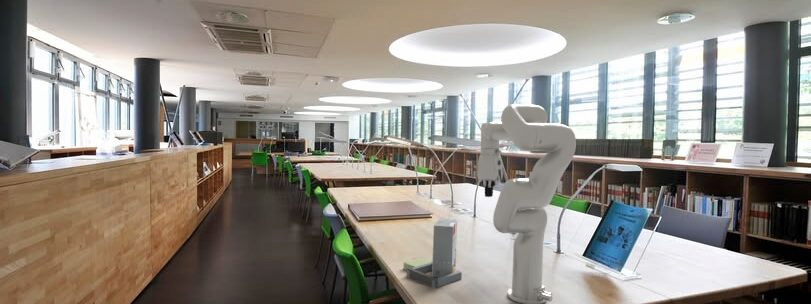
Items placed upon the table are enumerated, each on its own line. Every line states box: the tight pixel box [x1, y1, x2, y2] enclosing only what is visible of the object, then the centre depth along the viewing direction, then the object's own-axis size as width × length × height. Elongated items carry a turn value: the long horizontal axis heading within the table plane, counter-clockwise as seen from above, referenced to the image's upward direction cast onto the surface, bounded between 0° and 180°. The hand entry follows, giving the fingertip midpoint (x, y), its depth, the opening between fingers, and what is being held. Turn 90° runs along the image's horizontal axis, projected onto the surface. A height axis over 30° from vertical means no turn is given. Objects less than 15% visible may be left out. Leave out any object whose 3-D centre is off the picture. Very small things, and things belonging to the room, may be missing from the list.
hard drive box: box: [431, 217, 458, 278], centre depth 151 cm, size 16×8×20 cm, turn 166°
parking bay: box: [406, 262, 463, 289], centre depth 145 cm, size 15×14×3 cm
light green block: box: [403, 257, 433, 271], centre depth 155 cm, size 7×10×3 cm
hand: (488, 196), depth 158 cm, fingers closed
